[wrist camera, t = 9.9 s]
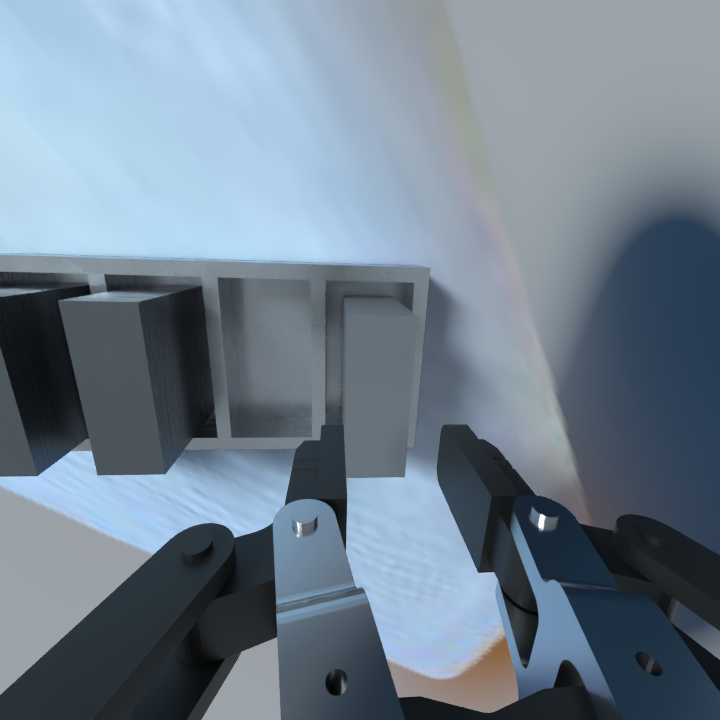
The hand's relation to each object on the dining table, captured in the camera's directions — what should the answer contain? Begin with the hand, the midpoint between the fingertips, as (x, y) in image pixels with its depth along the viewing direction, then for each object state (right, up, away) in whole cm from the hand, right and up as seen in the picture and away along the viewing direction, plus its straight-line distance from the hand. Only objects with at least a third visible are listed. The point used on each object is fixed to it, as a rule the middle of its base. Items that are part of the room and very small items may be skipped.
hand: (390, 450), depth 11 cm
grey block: (-1, +3, +11) cm, 12 cm away
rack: (-9, +4, +11) cm, 15 cm away
